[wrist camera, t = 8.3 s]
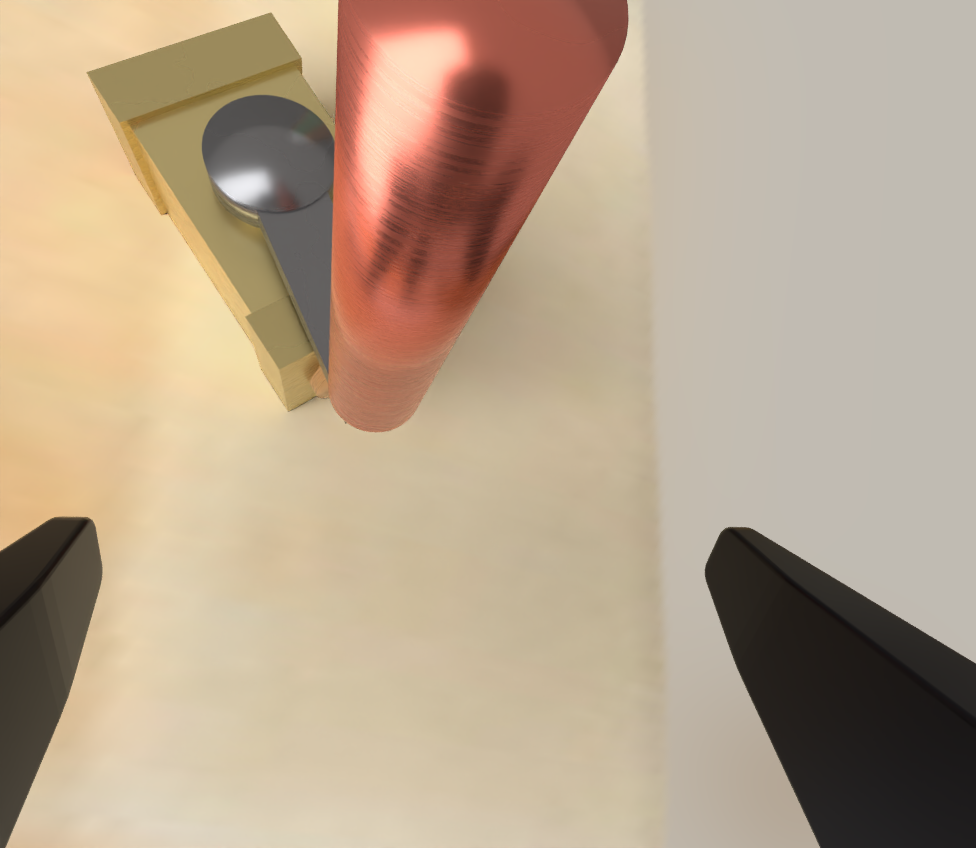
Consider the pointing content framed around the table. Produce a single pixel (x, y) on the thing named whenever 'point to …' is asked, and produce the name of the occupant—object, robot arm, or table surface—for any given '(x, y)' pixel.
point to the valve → (185, 183)
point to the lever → (411, 176)
